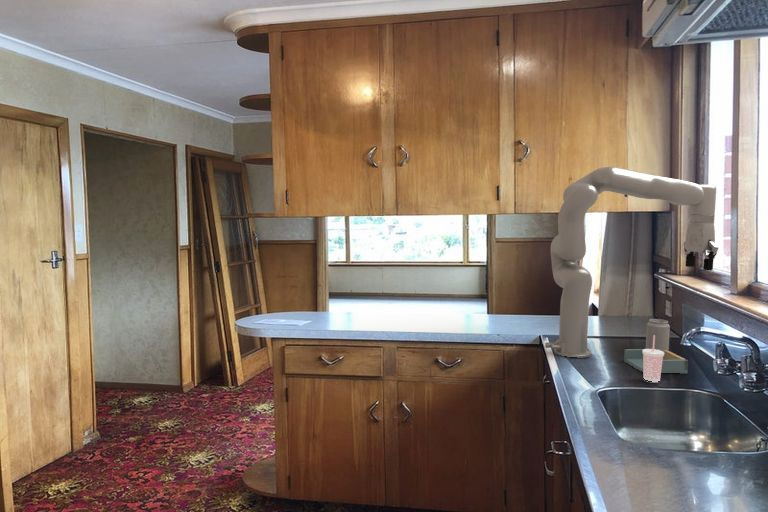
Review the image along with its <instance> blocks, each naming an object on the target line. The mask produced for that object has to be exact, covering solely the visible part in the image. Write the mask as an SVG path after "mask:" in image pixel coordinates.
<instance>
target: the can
mask: <svg viewBox="0 0 768 512" xmlns="http://www.w3.org/2000/svg"><path fill="white" fill-rule="evenodd" d="M670 331H671V325H670V324H669V321H668V320H665V319H660V318H650V319H648V322H647V323H646V333H645V334H646V335H645V349H653V335H655V345H654V349H666V350H668V351H669V349H670Z"/></svg>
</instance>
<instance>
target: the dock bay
mask: <svg viewBox="0 0 768 512" xmlns="http://www.w3.org/2000/svg"><path fill="white" fill-rule="evenodd" d="M643 349H644V348H638V349H637V348H629V349H628V348H627V349H626V348H624V352H623V353H624V354H623V362H624V363H626V364H627V363H628V364H627V365H630V367H632V366H633V368H634V369H636V370H637V369H638V371H639V370H640V371H639V372H641V371H642V372H643V353H642V352H643V351H642V350H643ZM656 350H660V351H663V352H664V356H663V361H662V369H661V373H680V374H688V370H689V369H688V368H689V359H686V358H684V357H681V356H680V355H677V354H676V353H674V352H672V351H669V350H666V349H656ZM642 372H641V373H642Z"/></svg>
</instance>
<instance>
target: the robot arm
mask: <svg viewBox="0 0 768 512" xmlns="http://www.w3.org/2000/svg"><path fill="white" fill-rule="evenodd" d="M603 192H611V193H616V194H619V195H620V194H622V195H624V196H631V197H635V198H640V199H646V200H661V201H668V203H670V204H672V205H675V206H690V212H689V213H690V215H689V222H688V226H687V229H686V235H685V241H684V242H683V250H684V252H685V253H684V254H685V267H686V268H691V267H692V268H693V267H695V265H696V255H695V254H696V253H699V254H701V253H703V256H704V257H705V258H703V267H702V270H703V271H713V270H714V260H715V259H716V256H717V253H718V250H719V246H718V244H716V243H715V242H716V238H715V237H716V234H715V233H716V231H715V229H716V228H715V215H716V213H715V212H716V201H717V187H716V186H715V185H714V184H705V183H703V184H701V183H700V184H698V183H695V182H691V181H687V180H683V179H677V178H671V177H665V176H661V175H656V174H650V173H646V172H642V171H641V172H640V171H635V170H630V169H627V168H622V167H618V166H603V167H599V168H596V169H595V170H593V171H591V172H590V173H588V174H586V175H584V176H582V177H581V178H579V179H577V180H576V181H574V182H572V183H570V184H568V186H567V187H566V188H565V189H564V190H563V194H562V199H563V203H562V204H561V206H560V209H559V211H558V214H557V215H558V217H557V225H558V226H557V227H558V228H557V229H558V230H557V231H558V234H557V235H555V237H554V238H553V239H552V241H551V244H550V260H551V270H552V275H553V280H554V282H555V283H556V285H558V287H560V288H562V293H561V297H560V306H559V309H560V310H559V332H558V333H559V334H558V336H559V337H558V339H557V338H556V341H553V342H548V341H547V342H545V343H544V345H545V346H544V347H545V348H546V349H551V350H553V352H554V354H556V355H557V354H558V355H557V356H560V355H561V356H560V357H564V356H567V357H566V358H569V357H577V358H576V359H585V358H590V357H591V356H592V350H590V349H588V334H589V333H588V332H589V331H588V330H589V307H590V297H591V296H590V295H591V290H592V286H593V278H592V274H591V273H590V271H589V270H588V269H587V268H585V267H584V266H582V265H579V263H578V262H579V261H581V260H583V258H585V255H586V253H587V246H586V245H587V244H586V237H585V223H584V222H585V221H584V220H585V216H586V213H587V211H589V209H590V208H591V207H593V206H594V205H595V204H596V202H597V200H598V198H599V197H598V196H599V195H600V194H602V193H603Z"/></svg>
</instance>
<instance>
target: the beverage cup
mask: <svg viewBox="0 0 768 512" xmlns="http://www.w3.org/2000/svg"><path fill="white" fill-rule="evenodd" d="M654 345H655V335H653V349H646V348H642V349H643V350H642V351H643V352H642V353H643V374H642V375H643V378H644V379H645V380H648V381H652V382H651V383H659V382H658V381H660V382H661V377H662V376H661V375H662V374H661V369H662V361H663V356H664V352H663V351H660V350H656V349H654ZM644 379H643V380H644ZM645 380H644V381H645ZM648 381H647V382H648Z"/></svg>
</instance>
